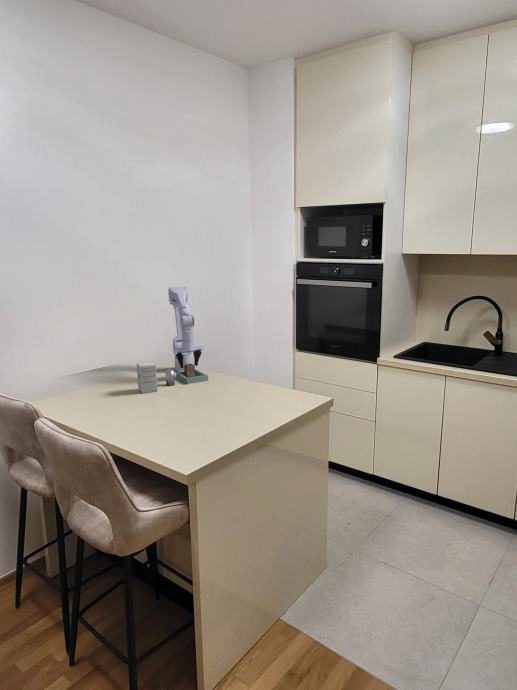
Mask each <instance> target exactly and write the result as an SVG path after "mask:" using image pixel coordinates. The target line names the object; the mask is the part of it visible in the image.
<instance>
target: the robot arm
mask: <svg viewBox="0 0 517 690" xmlns="http://www.w3.org/2000/svg"><path fill="white" fill-rule="evenodd" d="M167 293H168V302H169V304H170V305H171V306H173V309H174V316H175V324H176V325H175V326H176V334H177V335H176V336H175V337H174V338H173V339H172V349H173V350H172V351H173V355H174V367H173V369H172V370H174V371H177V372H182V371H184V365H185V364H192V363H191V354H192V353H193V357H194V358H193V359H194V364H193V365H195V367H198V365H199V360H200V357H201V355H202V351H203V346H195V341H194V338H195V337H194V326H195V317H194V314H193V313H191V309H190V306H189V305H188V304H187V303H188V300H189V289H188V287H187V286H177V287H176V286H175V287H174V286H173V287H171V286H169V287H168V291H167Z"/></svg>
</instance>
